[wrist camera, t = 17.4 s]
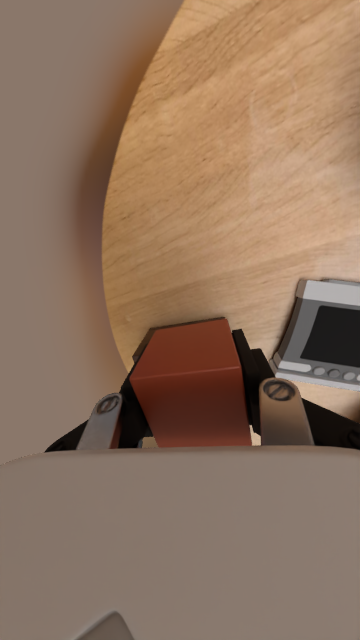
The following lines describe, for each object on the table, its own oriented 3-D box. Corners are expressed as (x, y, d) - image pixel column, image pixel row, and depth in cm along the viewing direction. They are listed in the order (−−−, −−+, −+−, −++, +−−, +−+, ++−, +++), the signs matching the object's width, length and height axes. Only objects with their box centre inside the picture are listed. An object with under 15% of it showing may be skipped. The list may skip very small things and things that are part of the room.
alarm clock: (274, 377, 30) (320, 282, 22) (266, 359, 34) (302, 273, 26) (383, 395, 29) (473, 301, 21) (362, 374, 33) (430, 289, 25)
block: (172, 384, 13) (158, 449, 9) (155, 329, 11) (127, 379, 7) (236, 377, 12) (252, 447, 8) (227, 317, 10) (241, 366, 6)
